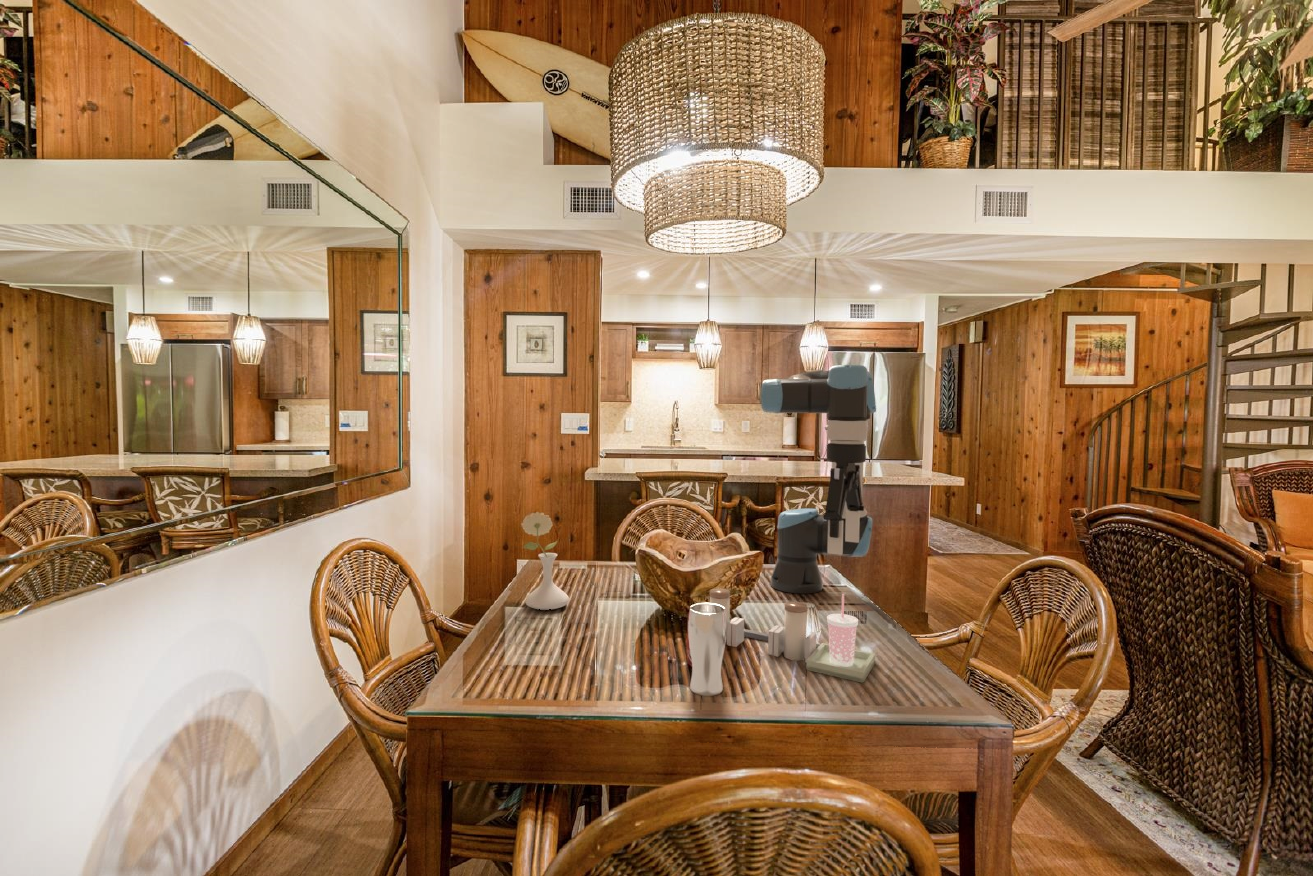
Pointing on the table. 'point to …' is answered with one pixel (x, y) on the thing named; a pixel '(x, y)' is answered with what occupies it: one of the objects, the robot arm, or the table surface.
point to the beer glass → (707, 647)
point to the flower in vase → (547, 591)
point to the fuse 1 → (721, 601)
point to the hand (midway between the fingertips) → (843, 547)
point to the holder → (766, 637)
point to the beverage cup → (842, 637)
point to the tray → (856, 672)
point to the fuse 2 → (795, 630)
